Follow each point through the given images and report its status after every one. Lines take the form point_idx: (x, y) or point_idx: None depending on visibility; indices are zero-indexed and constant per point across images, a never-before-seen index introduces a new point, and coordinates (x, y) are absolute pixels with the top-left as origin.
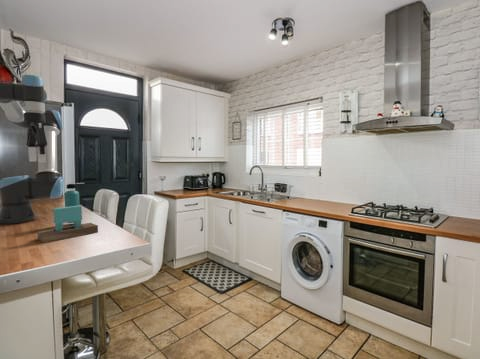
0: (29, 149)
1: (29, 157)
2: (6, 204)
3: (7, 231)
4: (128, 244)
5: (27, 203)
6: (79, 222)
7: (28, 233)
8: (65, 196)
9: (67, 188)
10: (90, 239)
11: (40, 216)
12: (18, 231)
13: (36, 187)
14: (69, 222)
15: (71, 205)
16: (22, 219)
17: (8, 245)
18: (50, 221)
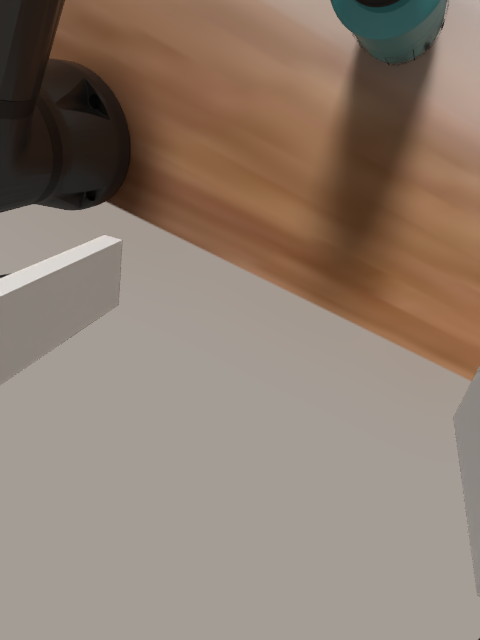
0: (17, 367)
1: (91, 322)
2: (38, 201)
3: (249, 262)
4: None
5: (47, 111)
6: None
7: (364, 246)
8: (383, 40)
9: (384, 5)
10: None
11: None
12: (288, 244)
13: (11, 71)
14: (416, 56)
15: (432, 25)
16: (122, 149)
17: None
18: (209, 56)
